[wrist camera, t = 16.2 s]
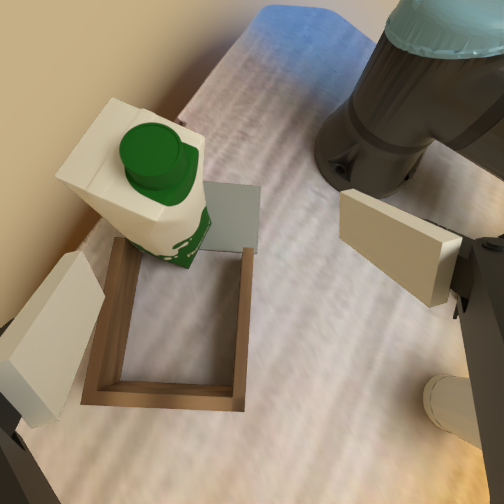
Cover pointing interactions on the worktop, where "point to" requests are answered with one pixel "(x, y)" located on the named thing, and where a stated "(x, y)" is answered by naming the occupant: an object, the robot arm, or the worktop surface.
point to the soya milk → (143, 180)
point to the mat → (231, 217)
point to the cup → (452, 407)
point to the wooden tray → (115, 338)
